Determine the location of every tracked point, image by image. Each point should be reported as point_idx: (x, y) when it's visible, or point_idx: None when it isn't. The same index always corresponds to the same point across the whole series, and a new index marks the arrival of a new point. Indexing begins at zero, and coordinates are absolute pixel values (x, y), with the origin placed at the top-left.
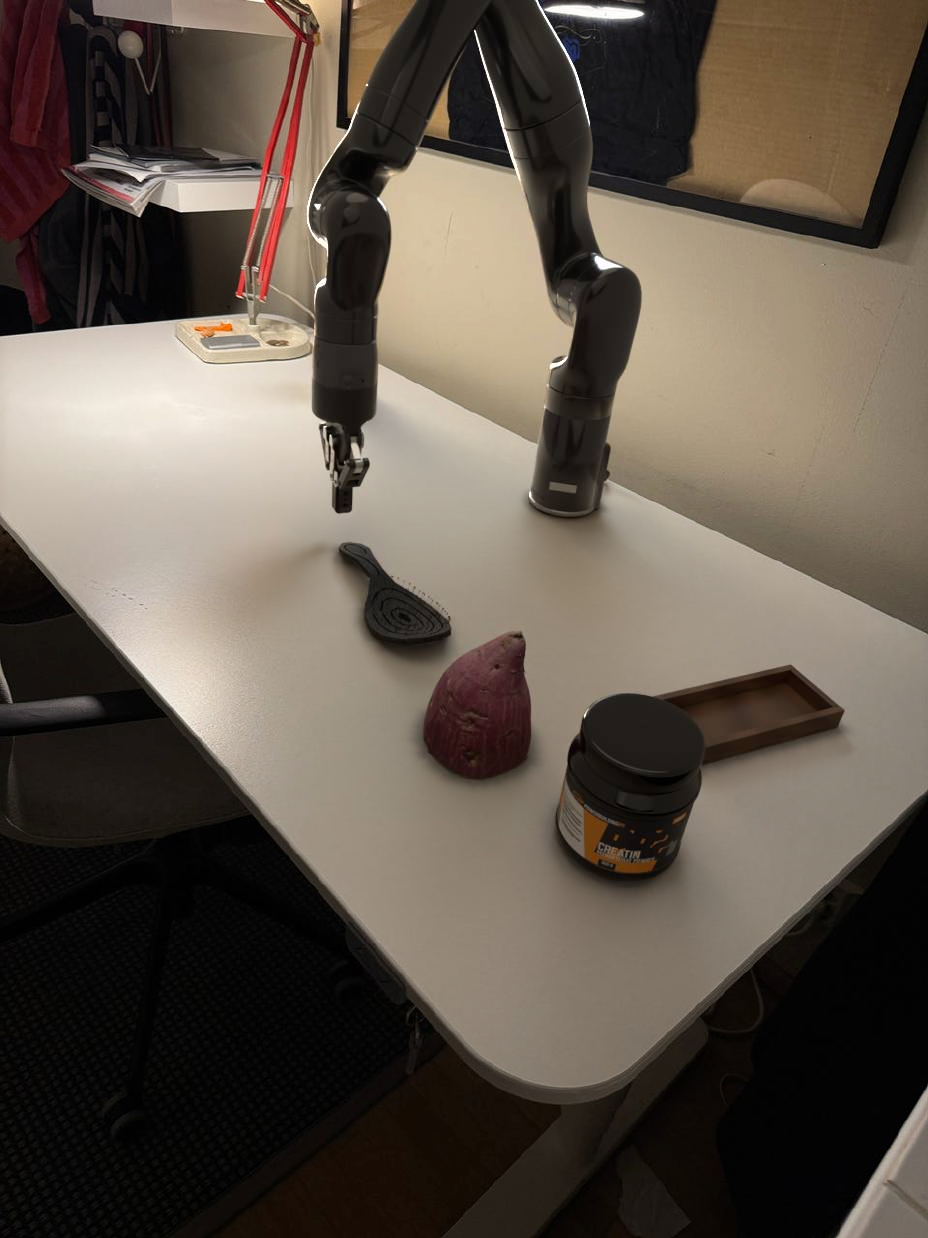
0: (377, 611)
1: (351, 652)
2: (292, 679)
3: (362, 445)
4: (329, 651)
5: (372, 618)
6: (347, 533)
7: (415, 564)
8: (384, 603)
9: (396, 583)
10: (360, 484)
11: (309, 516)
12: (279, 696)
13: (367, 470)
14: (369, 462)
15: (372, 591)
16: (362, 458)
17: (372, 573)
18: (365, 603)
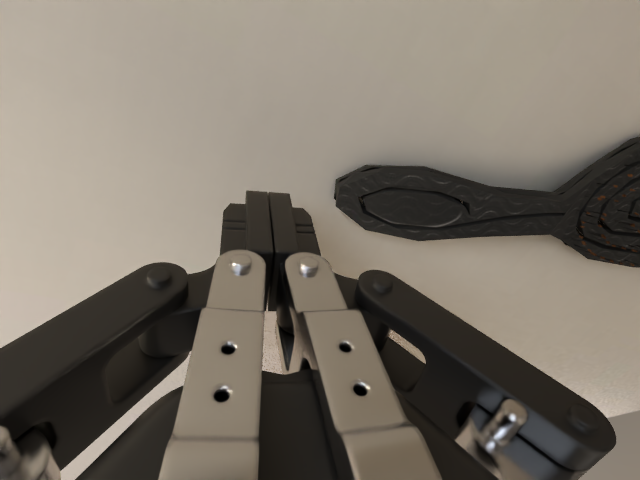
0: (608, 239)
1: (620, 292)
2: (593, 358)
3: (421, 445)
4: (592, 314)
5: (615, 255)
6: (254, 149)
7: (512, 37)
8: (605, 220)
9: (595, 178)
10: (407, 286)
11: (116, 210)
12: (602, 372)
13: (550, 378)
14: (613, 431)
15: (569, 232)
16: (580, 468)
17: (551, 229)
18: (564, 243)
